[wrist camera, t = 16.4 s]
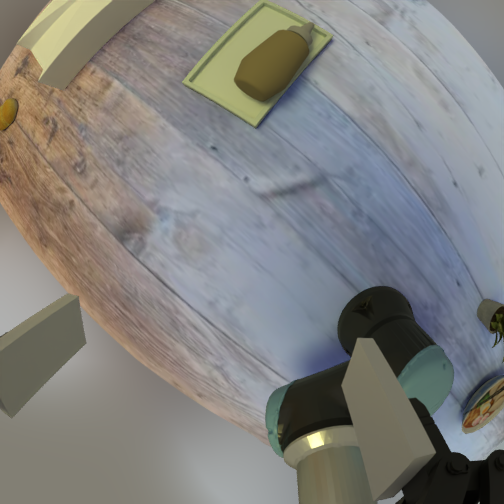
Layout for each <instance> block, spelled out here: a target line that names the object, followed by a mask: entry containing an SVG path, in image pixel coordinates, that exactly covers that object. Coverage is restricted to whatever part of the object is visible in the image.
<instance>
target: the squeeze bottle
mask: <svg viewBox="0 0 504 504" xmlns="http://www.w3.org/2000/svg"><path fill="white" fill-rule="evenodd" d="M314 26H315V25H314V24H313V23H312V22H309V23H307V24H305V25H303V26H301V27H299V26H295V25H294V26H290V27H289V28H288V29H287V30H278V31H277V32H275V33H274V34H273V35H271V36H270V37H269V38H268V39H266V40H265V41H264V42H262V43H261V44H260V45H259V46H257V47H256V48H255V49H254V50H252V51H251V52H250V53H249V54H248V55H246V56H245V57H244V58H243V59H242V60H241V63H240V65H239V67H238V70H237V72H236V75H235V77H234V82H235V84H236V85H237V87H238V88H239V89H240V90H241V91H243V92H244V93H245V94H247V95H248V96H250V97H252V98H253V99H256V100H258V101H263V102H264V101H266V100H268V99H269V98H271V97H273V96H274V95H276V94H278V93H279V92H281V91H283V90H284V89H285V88H286V87H287V85H288V84H289V82H290V81H291V79H292V78H293V76H294V75H295V74H296V72H297V71H298V69H299V68H300V66H301V65H302V63H303V62H304V61H305V59H306V58H307V56H308V55H309V48H308V47H309V46H310V45H311V44H312V41H313V40H312V36H311V35H310V34H311V32H312V30H313V28H314Z"/></svg>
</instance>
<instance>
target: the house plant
mask: <svg viewBox="0 0 504 504" xmlns="http://www.w3.org/2000/svg"><path fill="white" fill-rule="evenodd" d="M477 316H478V318H479V319H480V321H481V322H482V323H483V324H484V325H485V327H486V328H487V329H488V331H489V332H490V333H492V334H494V333H496V340H495V343H494V346H495V345H497V344H498V343H499V342H500V340H501V339H502V336H503V338H504V304H501V303H498V302H495V301H492V300H490V299H485V300H484V301H483V302H482V303H481V304H480V306H479V308H478V311H477ZM497 332H499V334H500V339H499V341H498V343H497ZM503 342H504V341H503ZM496 343H497V344H496ZM494 346H493V347H494ZM493 347H492V348H493ZM503 362H504V358H503ZM503 362H502V363H503Z"/></svg>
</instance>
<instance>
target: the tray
mask: <svg viewBox="0 0 504 504" xmlns="http://www.w3.org/2000/svg"><path fill="white" fill-rule="evenodd" d="M309 22H310V21H308V20H306V19H304V18H302V17H301V16H299V15H297V14H295V13H293V12H291V11H289V10H287V9H285V8H283V7H280V6H278V5H276V4H274V3H272V2H269V1H267V0H260V1H259V2H258V3H257V4H255V5H254V6H253V7H252V8H251V9H250V10H249V11H248V12H247V13H245V14H244V15H243V16H242V17H241V18H240V19H239V20H238V21H237V22H236V23H235V24H234V25H233V26H232V27H231V28H230V29H229V30H228V31H227V32H226V33H225V34H224V35H223V36H222V37H221V38H220V39H219V40H218V41H217V42H216V43H215V44H214V45H213V47H212V48H211V49H210V50H209V51H208V52H207V53H206V54H205V55H204V56H203V58H202V59H201V60H200V61H199V62H198V63H197V65H196V66H195V67H194V68H193V69H192V71H191V72H190V73H189V74H188V75H187V77H186V78H185V79H184V80H183V82H182V83H183V84H184V85H185V86H186V87H188V88H190V89H192V90H194V91H195V92H197V93H199V94H201V95H202V96H204V97H206V98H208V99H209V100H211V101H213V102H214V103H216V104H218V105H219V106H221V107H223V108H224V109H226V110H227V111H229V112H231V113H232V114H234V115H235V116H237V117H239V118H240V119H242V120H243V121H245V122H246V123H248V124H249V125H251V126H252V127H254V128H255V129H256V128H257V126H258V125H259V124H260V123H261V121H262V120H263V119H264V117H265V116H266V115H267V114H268V112H269V111H270V110H271V109H272V107H273V106H274V105H275V104H276V103H277V101H278V100H279V99H280V98H281V96H282V95H283V94H284V93H285V92H286V90H287V89H288V88H289V87H290V86H291V85H292V83H293V82H294V81H295V80H296V79H297V77H298V76H299V75H300V74H301V73H302V72H303V71H304V69H305V68H306V67H307V66H308V65H309V64H310V63H311V62H312V60H313V59H314V58H315V57H316V56H317V55H318V54H319V53H320V52H321V51H322V49H323V48H324V47H325V46H326V45H327V44H328V43H329V42H330V41H331V40H332V37H333V35H332V34H330V33H329V32H327V31H325V30H324V29H322V28H320V27H319V26H317V25H315V24H314V25H315V26H314V28H313V30H312V32H311V34H310V35H311V36H312V40H313V41H312V44H311V45H310V46H309V47H308V48H309V55H308V56H307V58H306V59H305V61H304V62H303V63H302V65H301V66H300V68H299V69H298V71H297V72H296V74H295V75H294V76H293V78H292V79H291V81H290V82H289V84H288V85H287V87H286V88H285V89H284V90H283V91H281V92H279V93H278V94H276V95H274V96H273V97H271V98H269V99H268V100H266V101H264V102H263V101H258V100H256V99H253V98H252V97H250V96H248V95H247V94H245V93H244V92H243V91H241V90H240V89H239V88H238V87H237V85H236V84H235V82H234V77H235V75H236V72H237V70H238V67H239V65H240V63H241V60H242V59H243V58H244V57H245V56H246V55H248V54H249V53H250V52H251V51H252V50H254V49H255V48H256V47H257V46H259V45H260V44H261V43H262V42H264V41H265V40H266V39H268V38H269V37H270V36H271V35H273V34H274V33H275V32H277V31H278V30H287V29H288V28H289V27H290V26H294V25H295V26H299V27H301V26H303V25H305V24H307V23H309Z"/></svg>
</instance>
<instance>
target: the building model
mask: <svg viewBox="0 0 504 504" xmlns="http://www.w3.org/2000/svg"><path fill="white" fill-rule="evenodd" d="M154 1H156V0H53V1H52V2H51V3H50V4H49V5H48V6H47V7H46V8H45V9H44V11H43V12H42V13H41V14H40V15H39V16H38V17H37V19H36V20H35V21H34V22H33V23H32V24H31V26H30V27H29V28H28V29H27V31H26V32H25V33H24V34H23V36H22V37H21V38H20V40H19V41H18V42H17V45H20V46H22V47H25V48H27V49H30V50H31V51H32V53H33V55H34V56H35V58H36V59H37V61H38V62H39V64H40V66H41V67H42V69H43V71H42V74H41V76H40V78H39V80H38V82H40V83H43V84H46V85H49V86H52V87H55V88H57V89H60V90H63V91H64V90H65V89H66V87H67V86H68V85H69V83H70V82H71V81H72V80H73V79H74V77H75V76H76V75H77V74H78V73H79V71H80V70H81V69H82V68H83V67H84V66H85V65H86V63H87V62H88V61H89V60H90V59H91V58H92V57H93V56H94V55H95V54H96V53H97V52H98V51H99V50H100V49H101V47H102V46H103V45H104V44H105V43H106V42H108V41H109V40H110V39H111V38H112V37H113V36H114V35H115V34H116V33H117V32H118V31H119V30H120V29H121V28H122V27H124V26H125V25H126V24H127V23H128V22H129V21H130V20H132V19H133V18H134V17H135V16H136V15H138V14H139V13H140V12H141V11H143V10H144V9H145V8H146V7H148V6H149V5H150V4H152V3H153V2H154Z"/></svg>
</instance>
